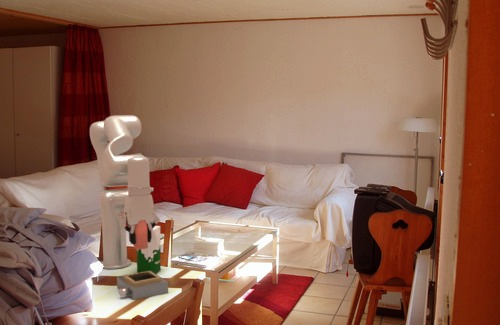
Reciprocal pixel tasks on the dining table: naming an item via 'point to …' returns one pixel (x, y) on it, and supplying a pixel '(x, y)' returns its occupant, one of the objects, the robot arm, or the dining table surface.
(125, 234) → the robot arm
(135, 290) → the grey square socket base
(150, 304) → the dining table surface
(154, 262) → the milk carton
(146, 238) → the oil can
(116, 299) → the dining table surface
